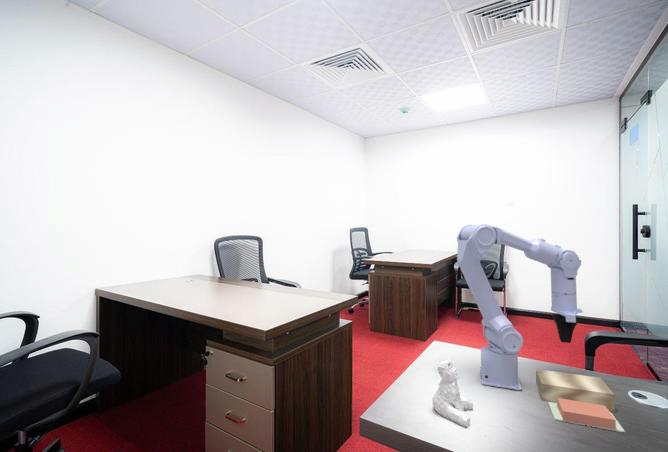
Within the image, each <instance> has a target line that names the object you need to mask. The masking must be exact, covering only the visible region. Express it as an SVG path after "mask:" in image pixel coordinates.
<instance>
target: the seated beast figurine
mask: <svg viewBox="0 0 668 452" xmlns="http://www.w3.org/2000/svg"><path fill="white" fill-rule="evenodd" d="M437 371H438V374H439V376H440V377H441V380H440V382H439V383H438V386H439V387H438V388H437V390H436V391H435V393H434V394H433V397H432V398H431V399H432V406H433V407H434V410H436V412H438V414H439V415H441V416H442V417H445V418H447V419H448V420H450V421H452V422H454V423H456V424H458V425H460V426H462V427H464V428H465V427H466V428H468V427H469V426H470V424H471V418H470V416H469V415H468V414H467V413H466V412H465V410H466V411H467V410H471V411H472V410H473V409H474V402H473V401H472V399H469V398H467V397H466V396H461V393H460V389H459V386H458V379H459V376H458V371H457V368H456V367H455V366H454V365H453V363H452V360H451V359H445V360H441V361H440V362H439V363H438V365H437Z"/></svg>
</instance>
